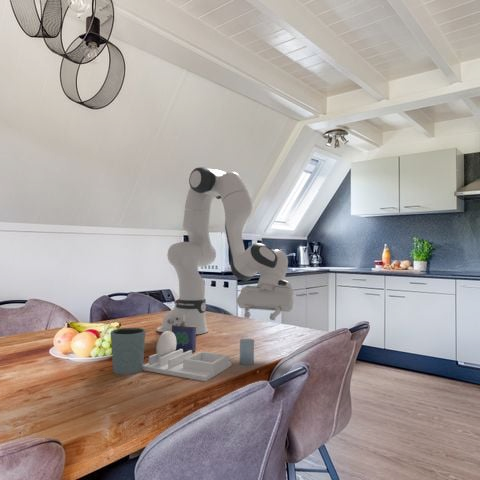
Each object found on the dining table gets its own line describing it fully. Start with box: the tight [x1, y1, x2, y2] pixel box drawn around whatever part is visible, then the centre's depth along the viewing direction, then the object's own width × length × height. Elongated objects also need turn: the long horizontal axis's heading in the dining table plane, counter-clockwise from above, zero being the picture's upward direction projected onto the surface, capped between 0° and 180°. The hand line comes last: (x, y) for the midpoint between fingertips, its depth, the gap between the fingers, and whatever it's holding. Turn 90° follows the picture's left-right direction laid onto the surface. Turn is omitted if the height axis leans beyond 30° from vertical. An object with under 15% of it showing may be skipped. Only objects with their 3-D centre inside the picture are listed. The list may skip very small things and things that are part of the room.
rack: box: [142, 331, 233, 382], centre depth 119 cm, size 22×16×10 cm
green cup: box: [110, 327, 146, 376], centre depth 116 cm, size 10×10×12 cm
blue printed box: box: [172, 321, 197, 353], centre depth 138 cm, size 9×3×11 cm, turn 74°
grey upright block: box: [239, 338, 255, 366], centre depth 125 cm, size 5×5×7 cm
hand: (259, 318), depth 134 cm, fingers open, 8 cm apart
